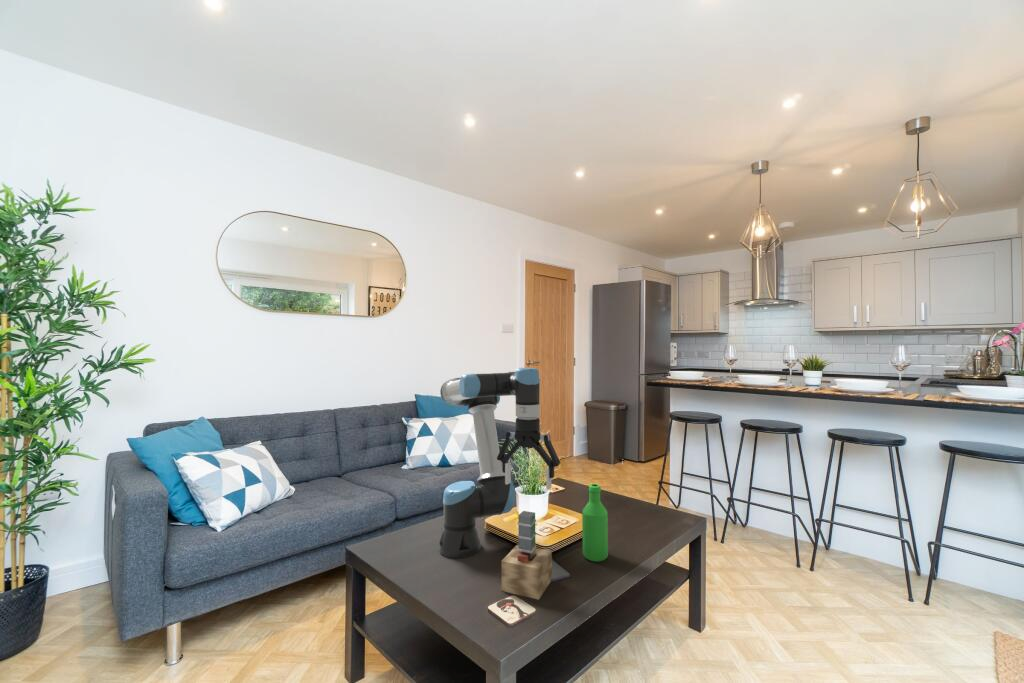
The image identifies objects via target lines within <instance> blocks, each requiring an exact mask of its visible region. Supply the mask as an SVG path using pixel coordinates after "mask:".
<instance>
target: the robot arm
mask: <svg viewBox="0 0 1024 683" xmlns="http://www.w3.org/2000/svg"><path fill="white" fill-rule="evenodd" d="M540 381H541V379H540V370H539V369H538V368H537V367H518V368H516V369H515V371H508V372H496V373H495V372H493V373H468V374H462V375H461V376H460V377H455V378H451V379H448V380H446V381H444V382H443V383H442V385H441V387H440V397H441V399H442V400H443V401H444V402H445V403H446V404H448V405H450V406H453V407H467V408H468V410H467V411H468V412H469V413H470V414H471V415H472V417H473V425H474V434H475V442H476V449H477V460H478V465H479V466H478V467H479V474H480V475H479V476H478V478H477V479H476V482H477V484H476V483H475V482H474V481H472V480H460V481H456V482H453V483H451V484H449V485H448V486H447V487H445V489H444V491H443V499H442V503H443V530H442V532H441V535H440V539H439V543H438V552H439V553H440V554H441V555H442V556H444V557H447V558H452V559H460V558H461V559H463V558H467V557H470V556H474V555H475V554H477V553H478V552H479V551H481V539H480V537H479V536H480V535H479V533H478V532H479V531H478V530H477V529H478V528H477V527H476V526H477V525H476V519H479V518H486V517H491V516H500V515H503V514H506V513H507V514H508V513H510V512H511V511H512V510H513V508H514V505H515V501H516V491H515V489H516V488H515V486H514V483H513V481H512V480H511V479H512V471H511V470H512V468H511V467H512V466H511V465H512V462H511V461H510V459H511V458H512V457H513V456H514V454H515V453H516V452H517V451H518V449H520V447H521V448H522V449H523V448H524V449H534V450H535V451H536V452H537V453H538V455H539V456H540V457H541V459H542V460H543V461H544V463H545V464H546V465H547V467H546V468H545V473H546V474H545V475H546V476H545V481H546V484H545V487H546V488H545V490H547V491H548V490H550V489H551V488H552V479H553V478H554V477H555V467H559V465H560V464H561V461H560V458H559V457H558V454H557V452H556V450H555V447H554V446H553V444H552V441H551V435H550V433H546V434H541V429H540V428H541V421H540V418H539V417H541V416H540V415H541V414H540V413H541V412H540V410H541V409H540V408H541V407H540V397H541V396H540V394H541V393H540V391H541V389H540V386H541V385H540V383H541V382H540ZM506 396H514V397H515V416H516V418H515V432H514V431H512V430H510V431H507V432H506V433H505V439H504V442H503V444H502V446H501V448H500V447H499V446H500V445H499V437H498V432H497V424H496V417H495V410H496V409H497V405H498V404H499V403H500V401H501V397H506ZM514 438H515V440H516V443H514V445H513V446H512V448H511V449H510V450H509V451H507V450H508V448H509V446H510V444H511V442H512V440H513V439H514ZM540 441H542V442H543V443H544V446H545V448H546V450H545V449H544V447H543V445H542V443H541V442H540ZM547 452H548V453H547ZM506 453H507V454H506Z"/></svg>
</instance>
